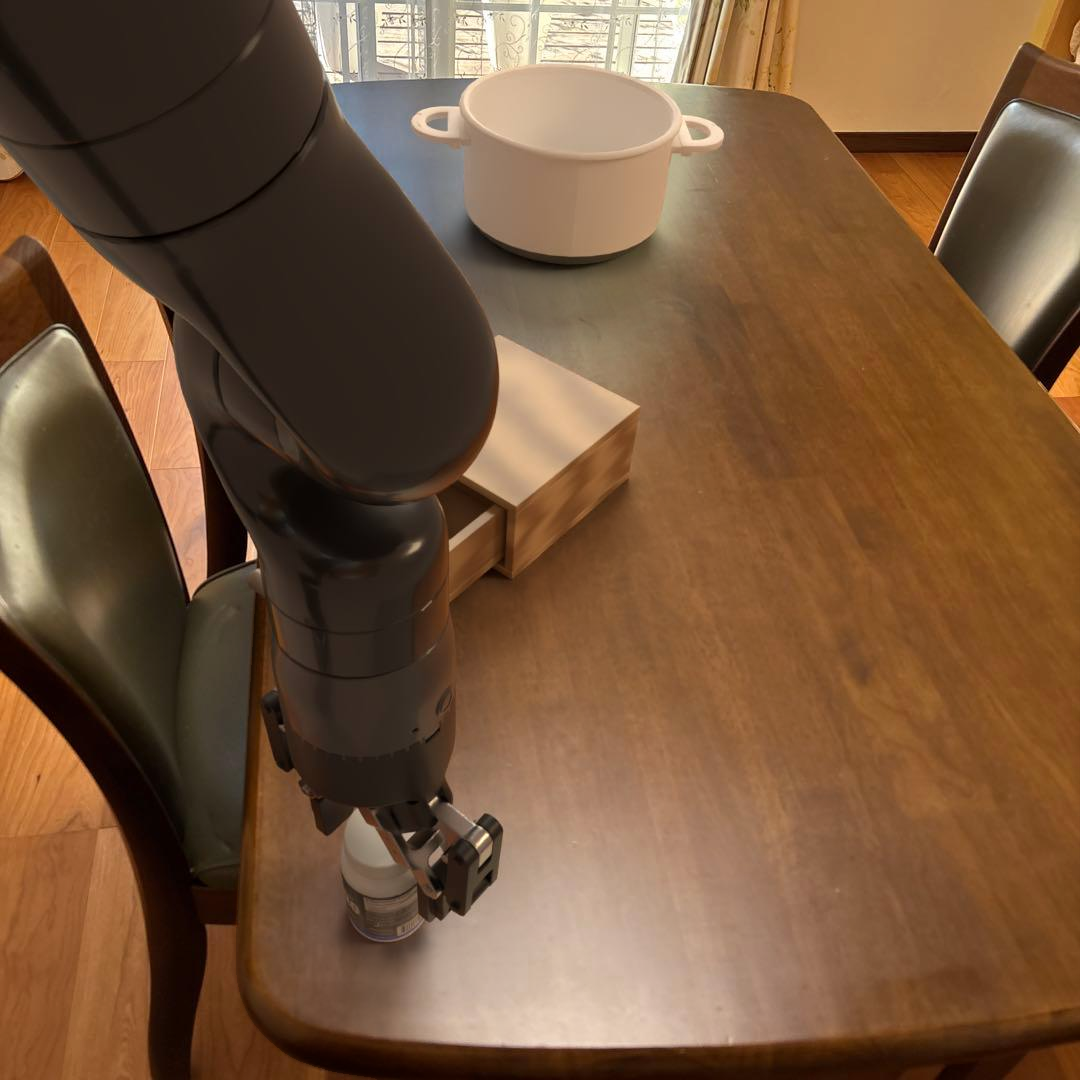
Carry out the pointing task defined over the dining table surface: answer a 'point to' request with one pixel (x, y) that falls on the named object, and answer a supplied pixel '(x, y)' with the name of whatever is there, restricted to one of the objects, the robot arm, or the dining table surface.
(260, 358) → the robot arm
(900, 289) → the dining table surface
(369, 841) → the pill bottle
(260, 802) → the dining table surface
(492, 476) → the cabinet
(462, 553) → the drawer
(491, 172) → the pot
